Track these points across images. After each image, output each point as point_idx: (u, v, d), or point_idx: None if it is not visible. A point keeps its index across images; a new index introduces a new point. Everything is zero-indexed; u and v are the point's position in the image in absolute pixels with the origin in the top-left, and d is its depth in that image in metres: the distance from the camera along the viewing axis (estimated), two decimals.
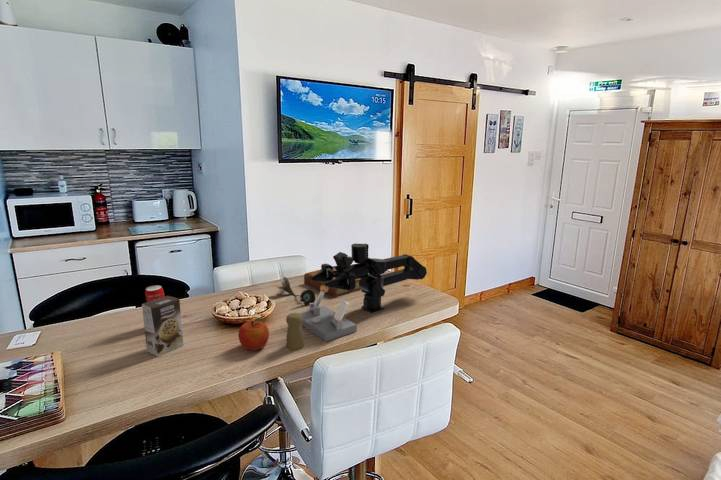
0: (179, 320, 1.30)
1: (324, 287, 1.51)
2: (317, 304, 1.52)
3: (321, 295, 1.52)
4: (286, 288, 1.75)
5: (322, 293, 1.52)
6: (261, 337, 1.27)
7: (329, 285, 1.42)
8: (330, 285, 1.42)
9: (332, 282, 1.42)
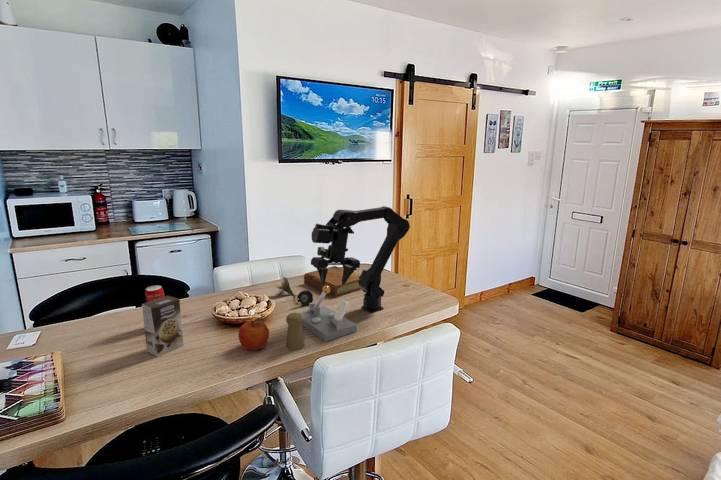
0: (179, 320, 1.30)
1: (326, 288, 1.52)
2: (318, 304, 1.52)
3: (322, 296, 1.52)
4: (285, 288, 1.75)
5: (324, 294, 1.52)
6: (261, 337, 1.27)
7: (322, 281, 1.49)
8: (322, 281, 1.49)
9: (320, 278, 1.49)
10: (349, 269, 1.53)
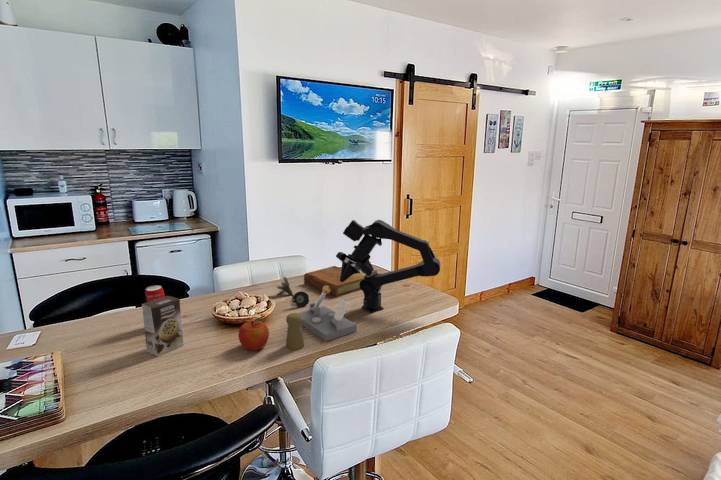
0: (179, 320, 1.30)
1: (326, 288, 1.52)
2: (318, 304, 1.52)
3: (322, 296, 1.52)
4: (285, 288, 1.75)
5: (324, 294, 1.52)
6: (261, 337, 1.27)
7: None
8: None
9: None
10: None
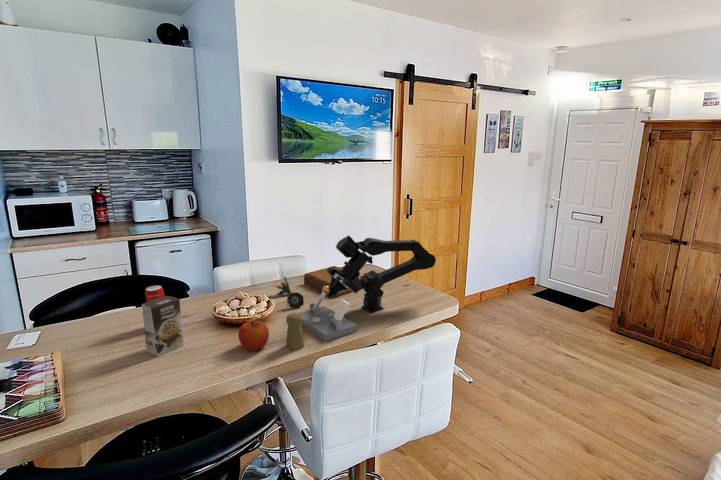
0: (179, 320, 1.30)
1: (326, 288, 1.52)
2: (318, 304, 1.52)
3: (322, 296, 1.52)
4: (284, 288, 1.75)
5: (324, 294, 1.52)
6: (261, 337, 1.27)
7: None
8: None
9: None
10: None
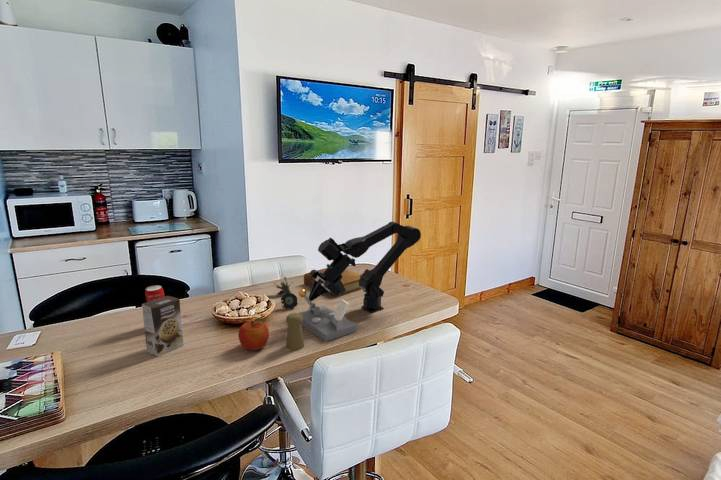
0: (179, 320, 1.30)
1: (300, 294, 1.47)
2: (312, 305, 1.51)
3: (306, 299, 1.49)
4: (283, 288, 1.75)
5: (305, 297, 1.49)
6: (261, 337, 1.27)
7: None
8: None
9: None
10: None
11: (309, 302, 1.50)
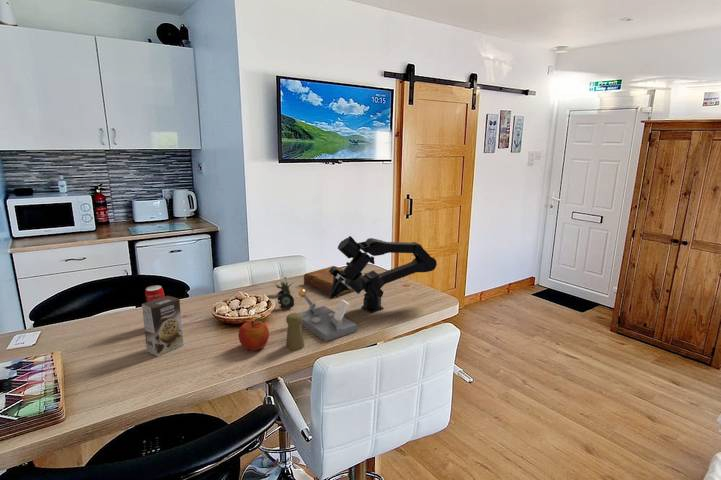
0: (179, 320, 1.30)
1: (300, 294, 1.47)
2: (312, 305, 1.51)
3: (306, 299, 1.49)
4: (282, 288, 1.75)
5: (305, 297, 1.49)
6: (261, 337, 1.27)
7: None
8: None
9: None
10: None
11: (309, 302, 1.50)
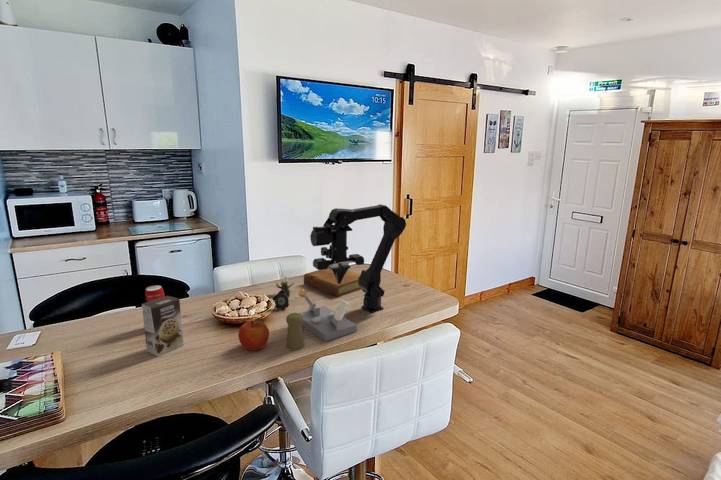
0: (179, 320, 1.30)
1: (300, 294, 1.47)
2: (312, 305, 1.51)
3: (306, 299, 1.49)
4: (282, 288, 1.75)
5: (305, 297, 1.49)
6: (261, 337, 1.27)
7: (337, 280, 1.52)
8: (337, 279, 1.52)
9: (335, 277, 1.53)
10: (342, 268, 1.50)
11: (309, 302, 1.50)
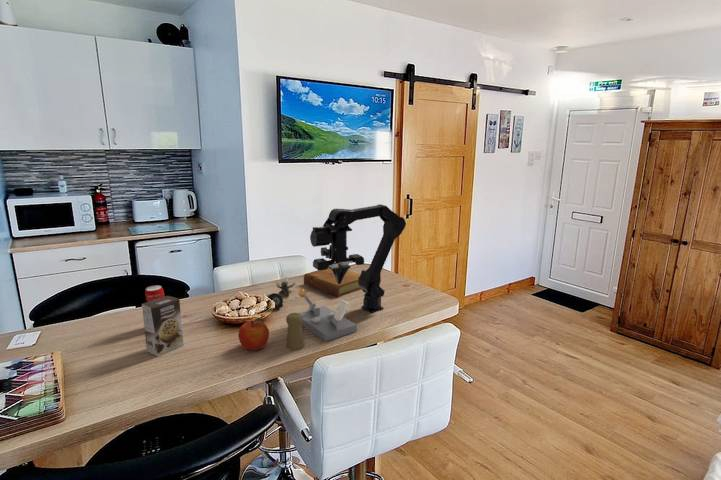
0: (179, 320, 1.30)
1: (300, 294, 1.47)
2: (312, 305, 1.51)
3: (306, 299, 1.49)
4: (281, 288, 1.76)
5: (305, 297, 1.49)
6: (261, 337, 1.27)
7: (337, 280, 1.52)
8: (337, 280, 1.52)
9: (335, 277, 1.53)
10: (342, 268, 1.50)
11: (309, 302, 1.50)
